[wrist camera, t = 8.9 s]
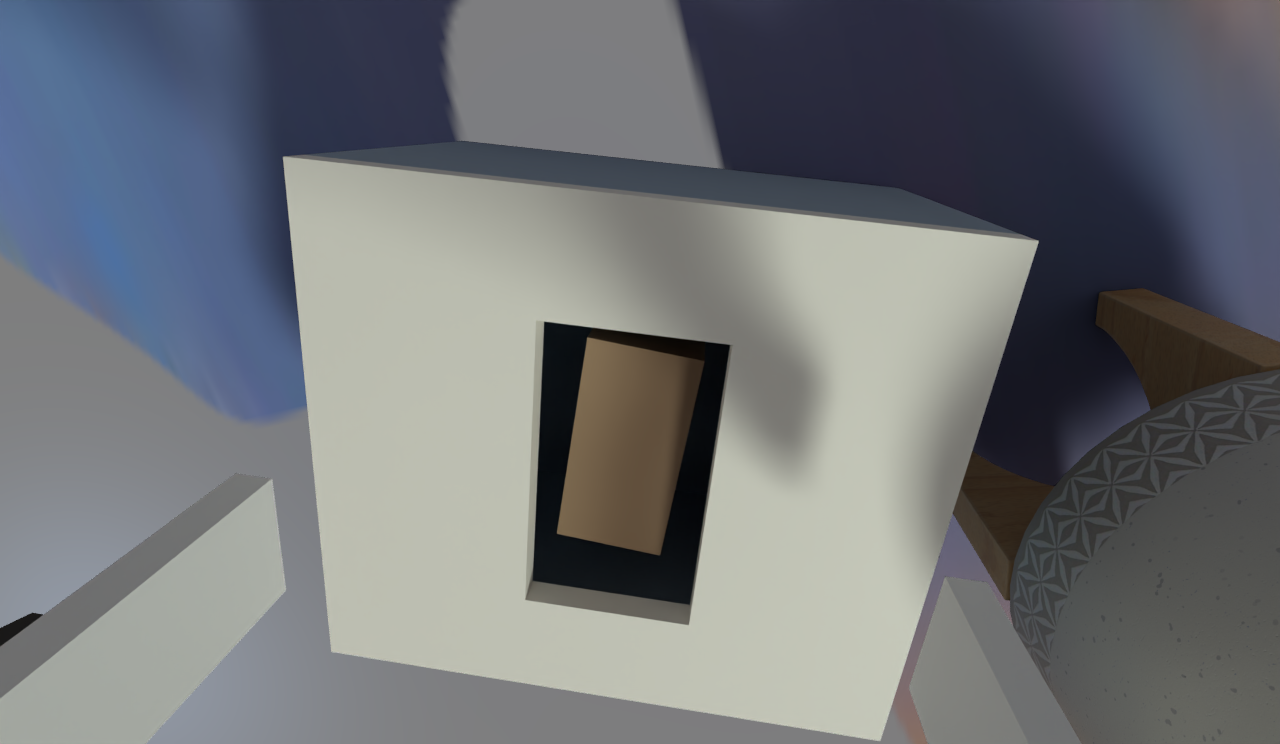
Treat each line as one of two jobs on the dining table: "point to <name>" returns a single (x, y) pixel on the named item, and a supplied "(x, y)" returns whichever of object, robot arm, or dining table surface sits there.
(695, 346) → the block
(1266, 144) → the dining table surface
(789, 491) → the coin box
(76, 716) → the robot arm
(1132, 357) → the planter
